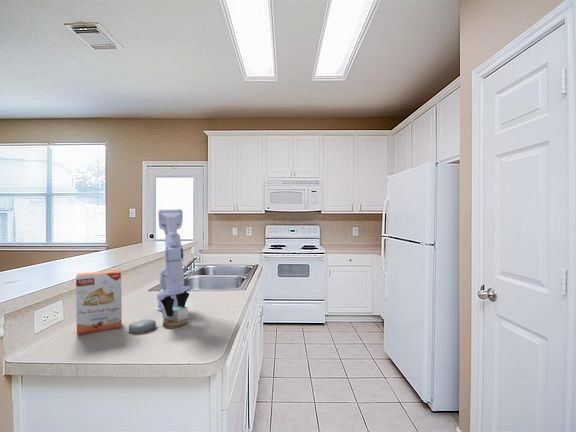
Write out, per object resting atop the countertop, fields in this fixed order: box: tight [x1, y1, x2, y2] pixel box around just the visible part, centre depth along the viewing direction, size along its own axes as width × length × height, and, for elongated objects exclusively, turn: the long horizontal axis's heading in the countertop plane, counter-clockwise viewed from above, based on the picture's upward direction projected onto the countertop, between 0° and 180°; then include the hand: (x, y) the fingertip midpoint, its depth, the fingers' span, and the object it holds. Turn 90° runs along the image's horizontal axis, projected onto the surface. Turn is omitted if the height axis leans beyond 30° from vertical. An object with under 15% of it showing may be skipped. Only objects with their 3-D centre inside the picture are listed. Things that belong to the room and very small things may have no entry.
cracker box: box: [75, 269, 123, 335], centre depth 115 cm, size 14×6×21 cm, turn 117°
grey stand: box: [128, 319, 157, 334], centre depth 115 cm, size 9×9×2 cm
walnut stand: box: [162, 317, 189, 329], centre depth 119 cm, size 9×9×2 cm
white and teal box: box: [161, 305, 189, 322], centre depth 119 cm, size 8×5×4 cm, turn 62°
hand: (175, 314), depth 119 cm, fingers closed on white and teal box, 5 cm apart
